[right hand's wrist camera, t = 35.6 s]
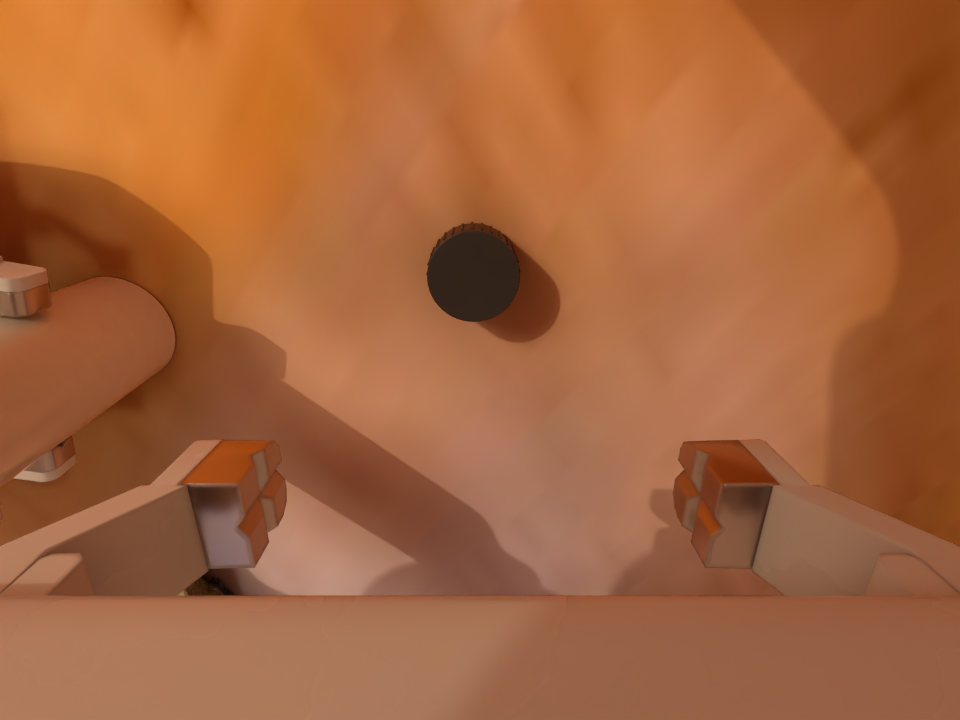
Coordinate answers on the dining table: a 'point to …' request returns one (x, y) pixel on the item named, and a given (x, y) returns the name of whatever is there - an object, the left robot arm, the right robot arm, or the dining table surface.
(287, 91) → the dining table surface
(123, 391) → the bottle
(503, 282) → the cap
